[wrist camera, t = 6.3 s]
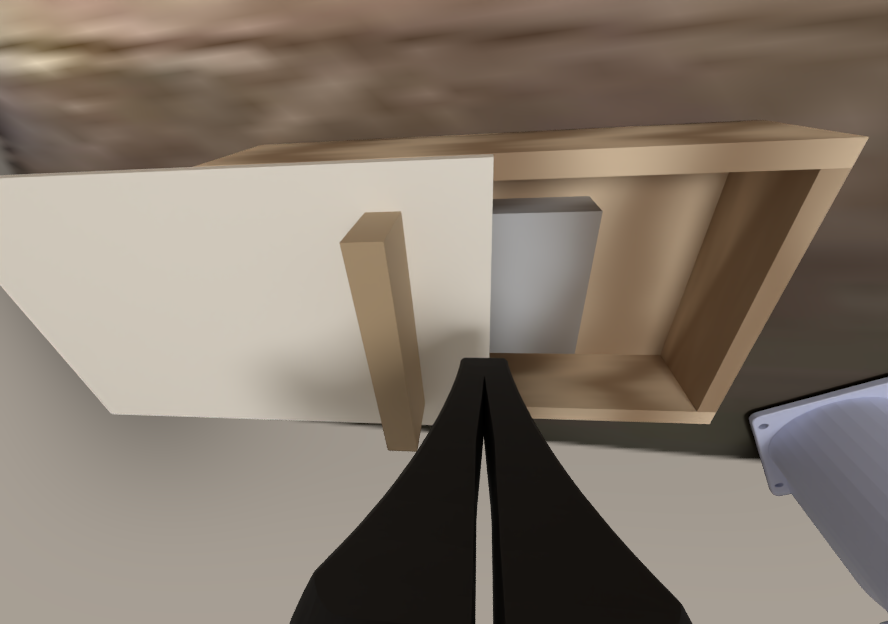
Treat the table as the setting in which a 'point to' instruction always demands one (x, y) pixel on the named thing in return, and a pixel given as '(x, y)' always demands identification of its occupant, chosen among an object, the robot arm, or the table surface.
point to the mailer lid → (260, 285)
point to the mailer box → (632, 252)
